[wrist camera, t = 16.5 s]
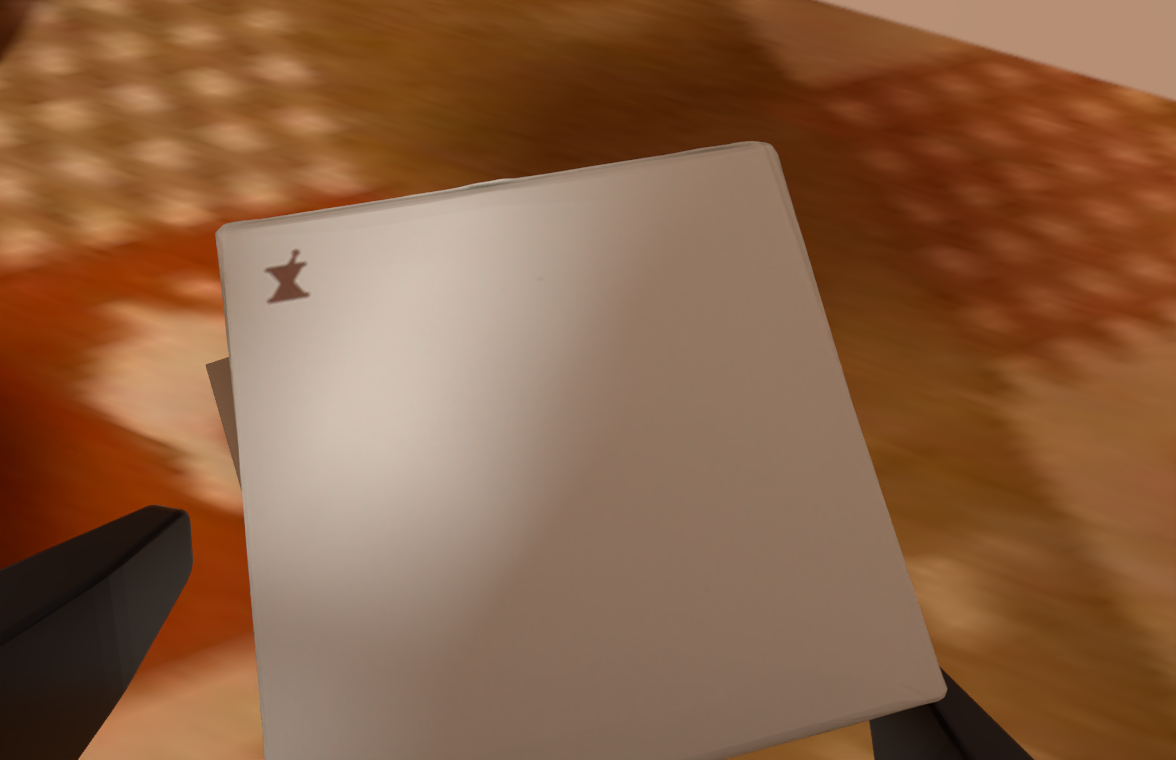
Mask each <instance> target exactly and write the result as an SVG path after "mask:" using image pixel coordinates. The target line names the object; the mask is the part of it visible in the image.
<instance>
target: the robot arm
mask: <svg viewBox="0 0 1176 760" xmlns="http://www.w3.org/2000/svg"><path fill="white" fill-rule="evenodd" d="M192 564H193V554H192V539H191V523H190V517H189V515H188V513H187V512H186V511H184V510H182V509H177V508H172V507H167V506H162V505H150V506H147V507H144V508H142V509H139V510H137V511H135V512H133V513H130V514H128V515H126V516H123V517H121V518H119V519H116V520H114V521H112V522H109V523H107V524H105V525H102V526H100V527H98V528H95V529H93V530H91V531H88V532H86V533H84V534H82V535H79V536H77V537H75V538H72V539H70V540H68V541H65V542H63V543H61V544H58V545H56V546H54V547H51V548H49V549H47V550H44V551H42V552H40V553H38V554H35V555H33V556H31V557H28V558H26V559H24V560H21V561H19V562H17V563H14V564H12V565H10V566H7V567H5V568H3V569H0V760H78V759H79V757H80V756H81V755H82V753H83V752H84V750H85V749H86V747H87V746H88V745H89V743H90V742H91V740H92V739H93V737H94V736H95V735H96V733H97V732H98V730H99V729H100V727H101V726H102V725H103V723H104V722H105V720H106V719H107V717H108V716H109V715H110V713H111V712H112V710H113V709H114V707H115V706H116V704H117V703H118V701H119V700H120V698H121V697H122V695H123V694H124V692H125V691H126V689H127V687H128V685H129V684H130V682H131V680H132V679H133V677H134V675H135V674H136V672H137V670H138V668H139V666H140V665H141V663H142V661H143V659H144V658H145V656H146V654H147V652H148V650H149V649H150V647H151V645H152V643H153V641H154V640H155V638H156V636H157V634H158V632H159V631H160V629H161V627H162V625H163V623H164V622H165V620H166V618H167V616H168V614H169V613H170V611H171V609H172V607H173V606H174V604H175V602H176V600H177V598H178V597H179V595H180V593H181V591H182V589H183V588H184V586H185V584H186V582H187V580H188V578H189V576H190V573H191V569H192ZM939 667H940V666H939ZM940 670H941V673H942V676H943V678H944V681H945V684H946V686H947V692H946V694H945V697H944V698H942V699H941V700H939V701H937V702H932V703H928V704H924V705H920V706H917V707H913V708H910V709H906V710H903V711H899V712H896V713H892V714H889V715H885V716H882V717H878V718H875V719H871V720H869V722H870V729H871V736H872V744H873V751H874V758H875V760H1034V759H1033V758H1032V757H1031V756H1030V755H1029V754H1028V753H1027V752H1026V751H1025V750H1024V749H1023V748H1022V747H1021V746H1020V745H1019V744H1018V743H1017V742H1016V741H1015V740H1014V739H1013V738H1012V737H1011V736H1010V735H1009V734H1008V733H1007V732H1006V731H1005V730H1004V729H1003V728H1002V727H1001V726H1000V725H999V724H997V723H996V722H995V721H994V720H993V719H992V718H991V717H990V716H989V715H988V714H987V713H986V712H985V711H984V710H983V709H982V708H981V707H980V706H979V705H978V704H977V703H976V702H975V701H974V700H973V699H972V698H971V697H970V696H969V695H968V694H967V693H966V692H965V691H964V690H963V689H962V688H961V687H960V686H959V685H958V684H957V683H956V682H955V681H954V680H953V679H952V678H951V677H950V676H949V675H948V674H947V673H946V672H945V671H944V670H943V669H942V668H941V667H940Z"/></svg>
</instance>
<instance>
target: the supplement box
mask: <svg viewBox="0 0 1176 760" xmlns="http://www.w3.org/2000/svg"><path fill="white" fill-rule="evenodd" d="M215 236H216V244H217V252H218V260H219V269H220V278H221V287H222V296H223V305H224V314H225V324H226V333H227V343H228V352H229V362H230V371H231V381H232V390H233V400H234V409H235V419H236V428H237V438H238V447H239V461H240V476H241V486H242V497H243V507H244V519H245V532H246V544H247V557H248V569H249V581H250V592H251V603H252V614H253V625H254V636H255V648H256V659H257V671H258V683H259V696H260V711H261V719H262V727H263V746H264V757H265V760H723V759H727V758H731V757H735V756H738V755H742V754H746V753H750V752H753V751H757V750H761V749H765V748H768V747H772V746H776V745H780V744H783V743H787V742H791V741H795V740H798V739H802V738H806V737H810V736H813V735H817V734H821V733H825V732H829V731H832V730H836V729H840V728H843V727H847V726H850V725H854V724H857V723H861V722H864V721H868V720H871V719H875V718H878V717H882V716H885V715H889V714H892V713H896V712H899V711H903V710H906V709H910V708H913V707H917V706H920V705H924V704H928V703H932V702H937V701H939V700H941V699H942V698H944V697H945V694H946V692H947V686H946V684H945V681H944V678H943V676H942V673H941V670H940V667H939V665H938V662H937V659H936V656H935V652H934V649H933V646H932V643H931V640H930V637H929V634H928V631H927V628H926V625H925V621H924V618H923V615H922V612H921V609H920V606H919V603H918V600H917V597H916V594H915V591H914V588H913V585H912V582H911V579H910V576H909V573H908V570H907V567H906V564H905V561H904V558H903V555H902V552H901V549H900V546H899V543H898V540H897V537H896V534H895V531H894V528H893V525H892V522H891V519H890V516H889V513H888V510H887V507H886V504H885V501H884V498H883V495H882V492H881V489H880V485H879V482H878V479H877V476H876V473H875V470H874V467H873V464H872V461H871V458H870V455H869V452H868V449H867V446H866V443H865V440H864V437H863V434H862V431H861V428H860V425H859V422H858V419H857V416H856V413H855V410H854V407H853V404H852V400H851V397H850V394H849V390H848V387H847V383H846V380H845V377H844V373H843V370H842V367H841V363H840V360H839V357H838V353H837V350H836V347H835V344H834V340H833V337H832V334H831V330H830V327H829V324H828V320H827V317H826V314H825V310H824V307H823V304H822V300H821V297H820V294H819V290H818V287H817V284H816V280H815V277H814V273H813V270H812V267H811V263H810V260H809V257H808V253H807V250H806V246H805V243H804V240H803V237H802V234H801V231H800V227H799V224H798V221H797V218H796V215H795V211H794V208H793V205H792V201H791V198H790V195H789V191H788V188H787V185H786V181H785V178H784V174H783V171H782V167H781V163H780V160H779V156H778V154H777V152H776V151H775V149H774V148H773V146H772V145H771V144H769V143H765V142H757V141H746V142H737V143H732V144H727V145H720V146H713V147H706V148H699V149H694V150H689V151H683V152H678V153H673V154H668V155H662V156H655V157H648V158H642V159H635V160H629V161H622V162H616V163H609V164H603V165H597V166H591V167H585V168H579V169H573V170H567V171H561V172H554V173H548V174H542V175H535V176H528V177H520V178H513V179H499V180H494V181H488V182H481V183H475V184H471V185H467V186H463V187H458V188H453V189H448V190H442V191H436V192H429V193H422V194H416V195H410V196H404V197H398V198H393V199H386V200H380V201H374V202H367V203H361V204H355V205H348V206H342V207H335V208H329V209H322V210H316V211H309V212H303V213H297V214H291V215H285V216H278V217H272V218H265V219H256V220H245V221H237V222H232V223H227V224H224V225H223V226H222V227H221V228H220V229H219V230H217V232H216V233H215Z"/></svg>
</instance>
